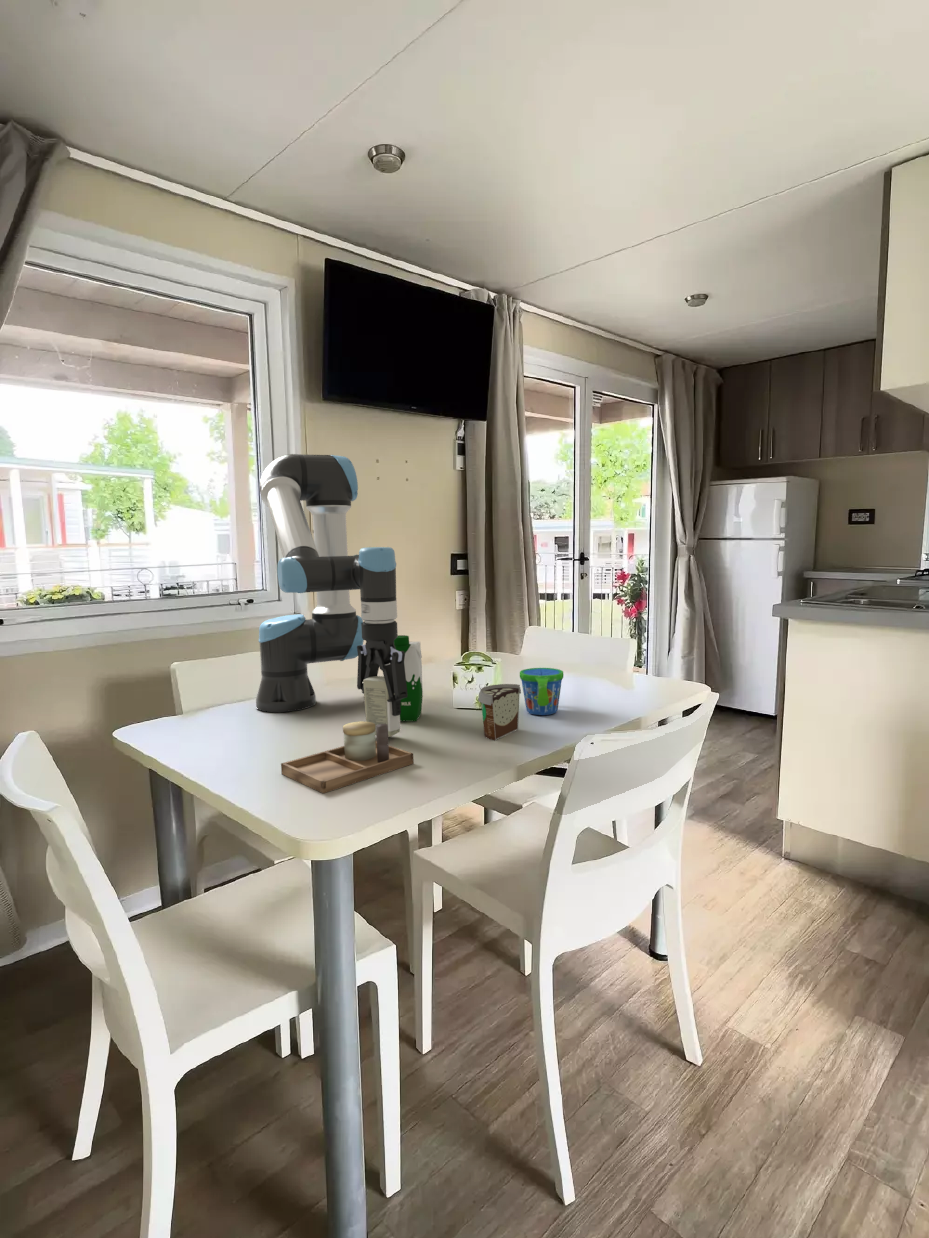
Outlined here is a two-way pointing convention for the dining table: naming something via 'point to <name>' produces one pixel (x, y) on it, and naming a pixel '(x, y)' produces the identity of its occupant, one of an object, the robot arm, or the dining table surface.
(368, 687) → the skincare box
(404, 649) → the milk carton
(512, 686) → the food container
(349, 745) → the organizer
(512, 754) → the dining table surface
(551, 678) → the snack cup
